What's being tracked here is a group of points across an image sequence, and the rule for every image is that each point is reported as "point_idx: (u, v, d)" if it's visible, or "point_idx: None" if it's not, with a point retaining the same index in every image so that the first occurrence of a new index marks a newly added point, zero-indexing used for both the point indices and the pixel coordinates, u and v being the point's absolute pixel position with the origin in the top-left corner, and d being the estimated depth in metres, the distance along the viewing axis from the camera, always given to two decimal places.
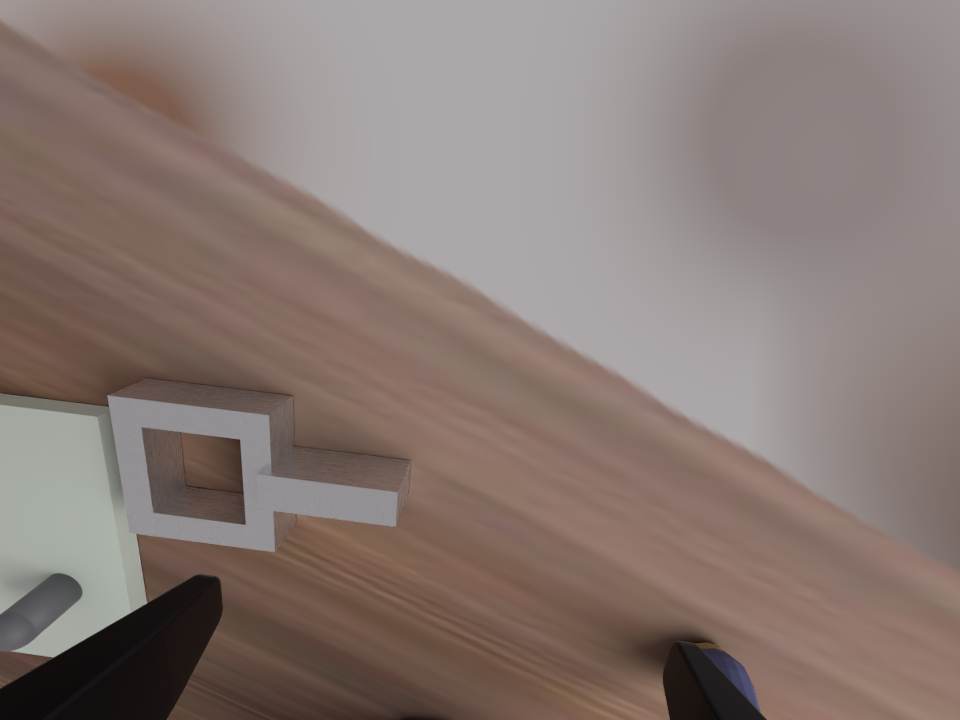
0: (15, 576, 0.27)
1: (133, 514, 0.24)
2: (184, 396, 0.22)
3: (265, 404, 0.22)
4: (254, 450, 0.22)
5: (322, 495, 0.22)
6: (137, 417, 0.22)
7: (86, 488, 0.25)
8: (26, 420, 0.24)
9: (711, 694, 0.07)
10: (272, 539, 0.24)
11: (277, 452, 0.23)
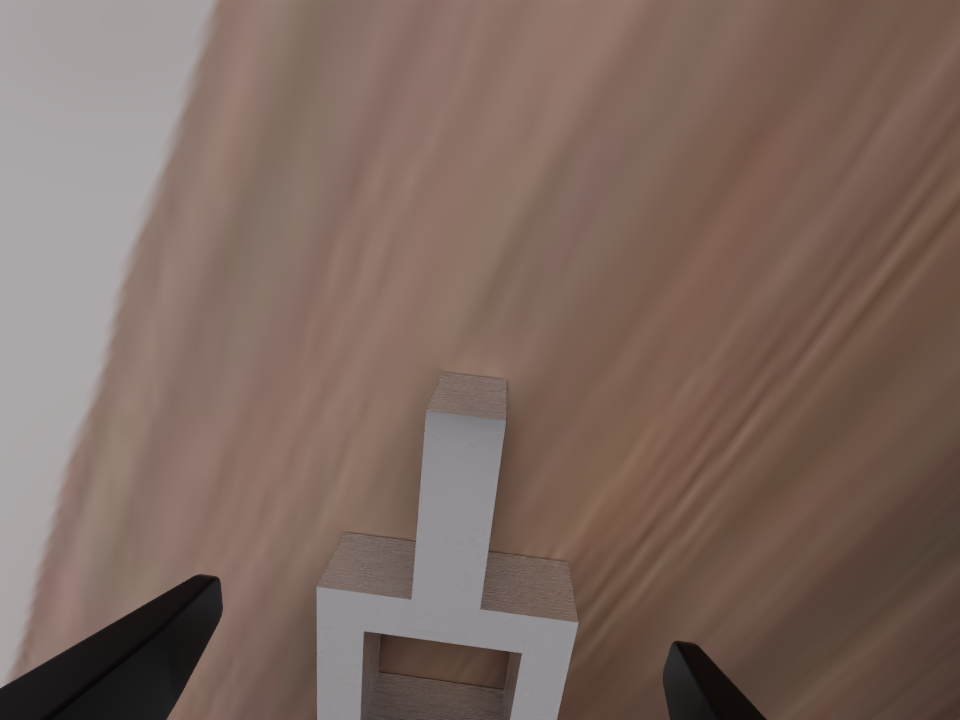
0: None
1: None
2: None
3: None
4: (380, 616, 0.14)
5: (442, 537, 0.12)
6: None
7: None
8: None
9: (711, 694, 0.07)
10: (552, 621, 0.14)
11: (398, 579, 0.14)
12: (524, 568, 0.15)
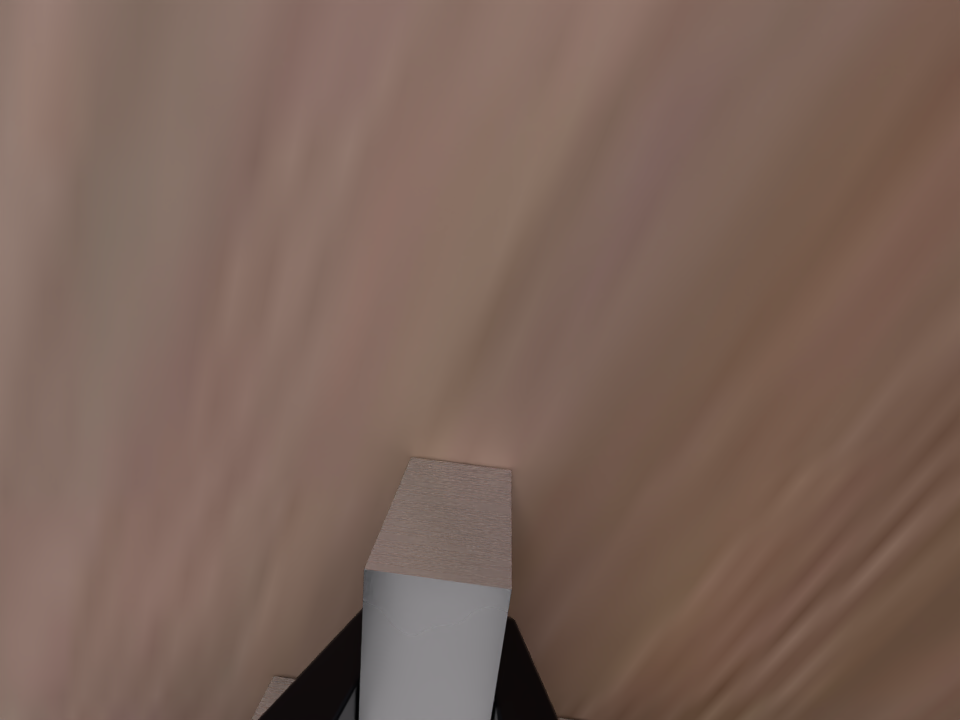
0: None
1: None
2: None
3: None
4: None
5: None
6: None
7: None
8: None
9: (500, 664, 0.07)
10: None
11: None
12: None
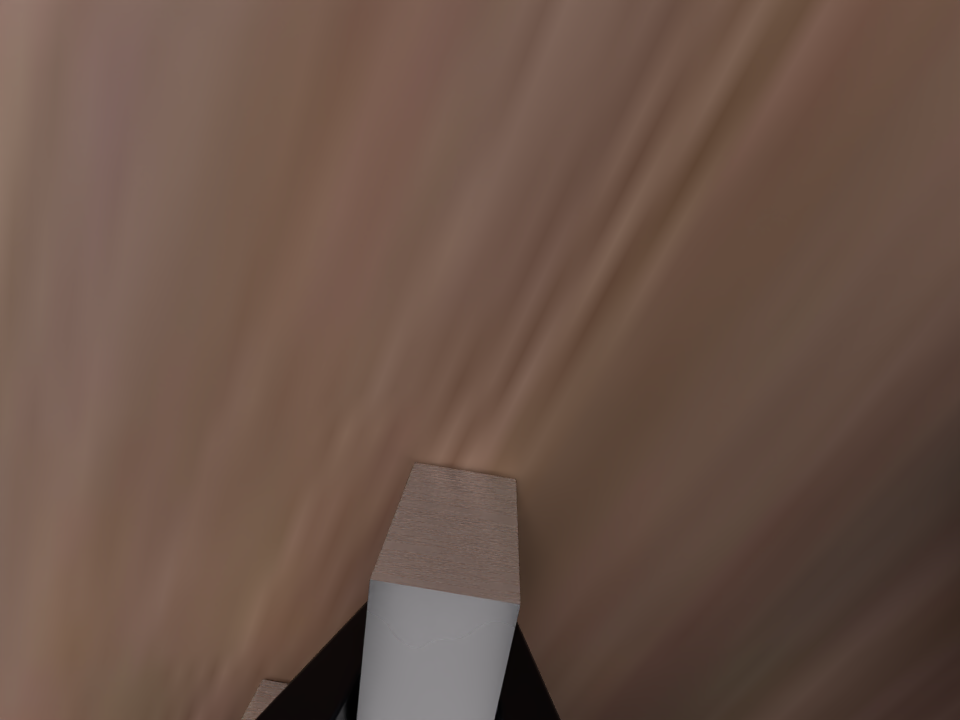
0: None
1: None
2: None
3: None
4: None
5: None
6: None
7: None
8: None
9: None
10: None
11: None
12: None
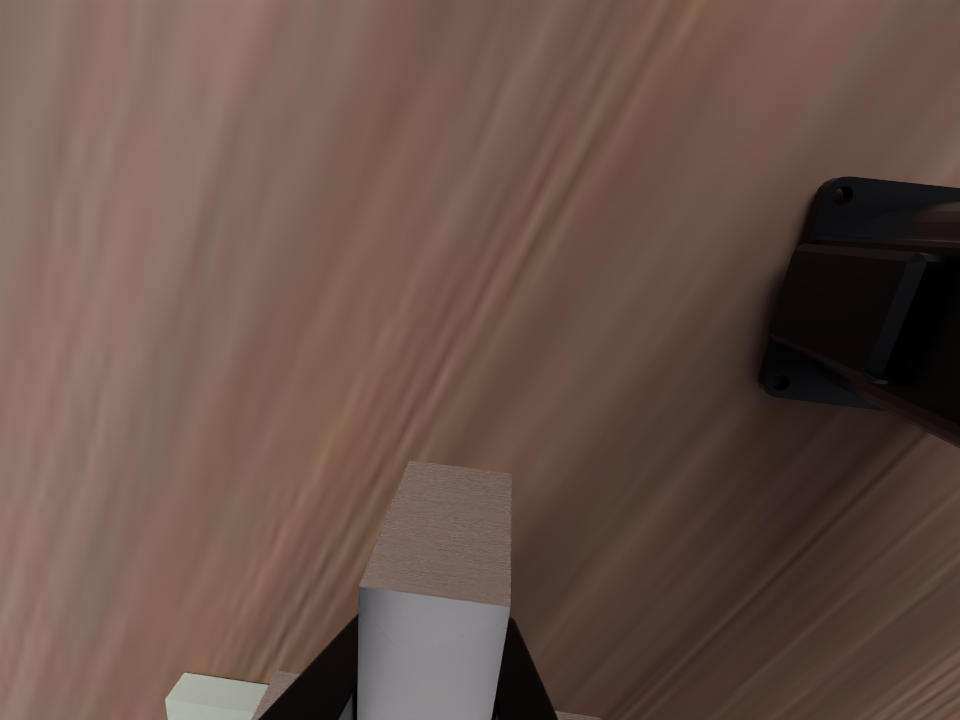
0: None
1: None
2: None
3: None
4: None
5: None
6: None
7: None
8: None
9: None
10: None
11: None
12: None
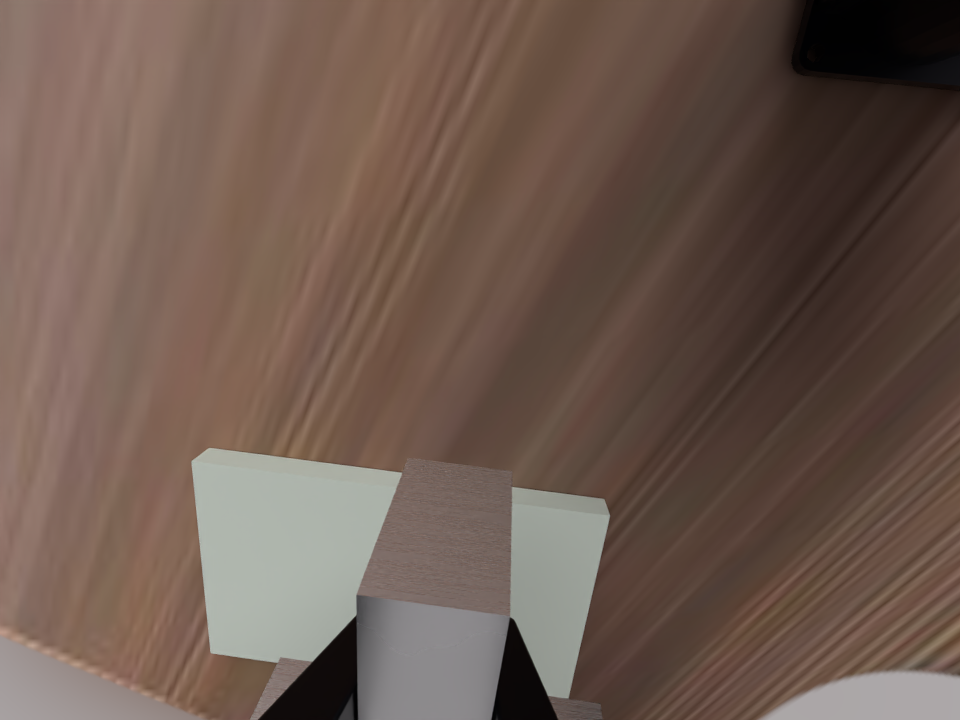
0: None
1: None
2: None
3: None
4: None
5: None
6: None
7: (295, 501, 0.20)
8: (215, 540, 0.20)
9: None
10: None
11: None
12: None
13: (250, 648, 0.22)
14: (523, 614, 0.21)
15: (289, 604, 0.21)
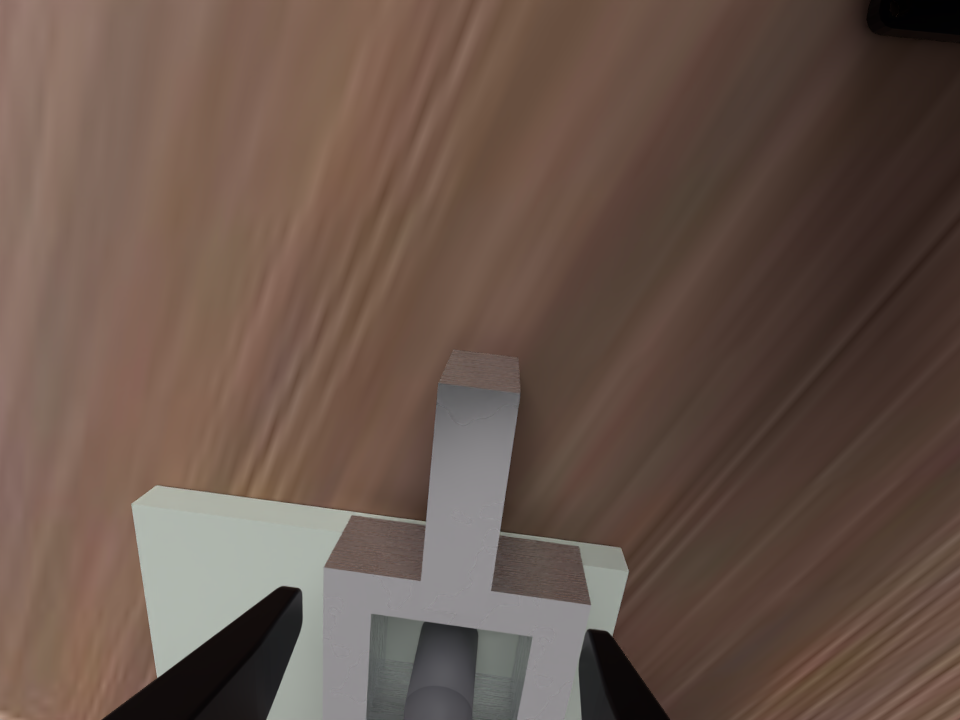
0: None
1: None
2: None
3: None
4: (388, 598, 0.14)
5: (453, 515, 0.12)
6: None
7: (255, 551, 0.16)
8: (163, 594, 0.17)
9: (609, 679, 0.07)
10: (564, 603, 0.13)
11: (407, 561, 0.14)
12: (534, 551, 0.15)
13: None
14: None
15: None
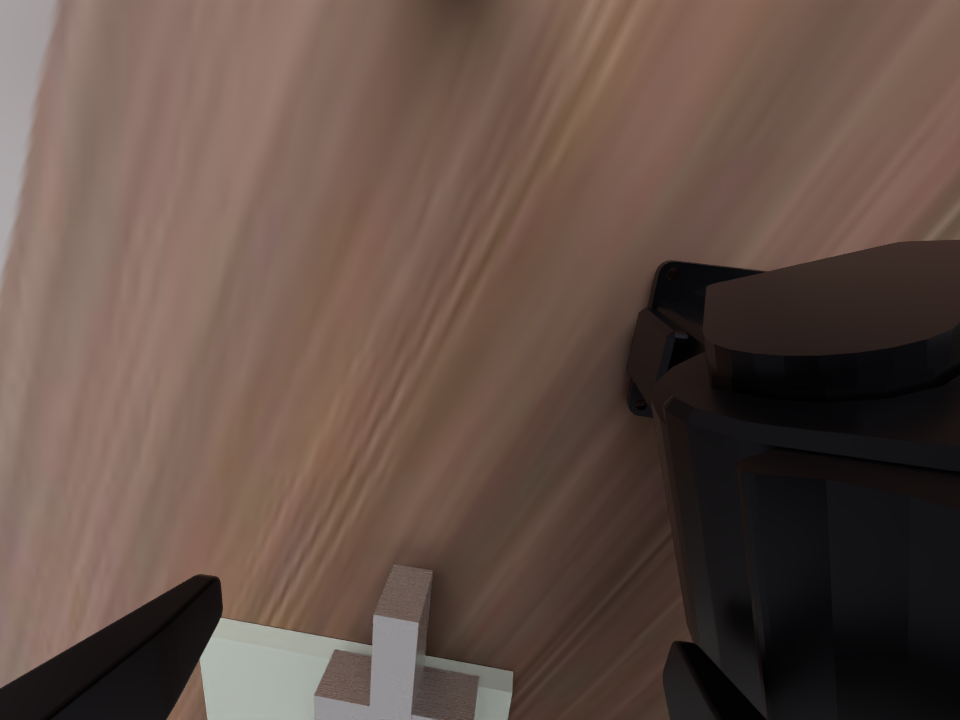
0: None
1: None
2: None
3: None
4: (352, 714, 0.22)
5: (386, 678, 0.21)
6: None
7: (274, 665, 0.25)
8: (214, 686, 0.27)
9: (711, 694, 0.07)
10: None
11: (365, 690, 0.23)
12: (448, 681, 0.24)
13: None
14: None
15: None
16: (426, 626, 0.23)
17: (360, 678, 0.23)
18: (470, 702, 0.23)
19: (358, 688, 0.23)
